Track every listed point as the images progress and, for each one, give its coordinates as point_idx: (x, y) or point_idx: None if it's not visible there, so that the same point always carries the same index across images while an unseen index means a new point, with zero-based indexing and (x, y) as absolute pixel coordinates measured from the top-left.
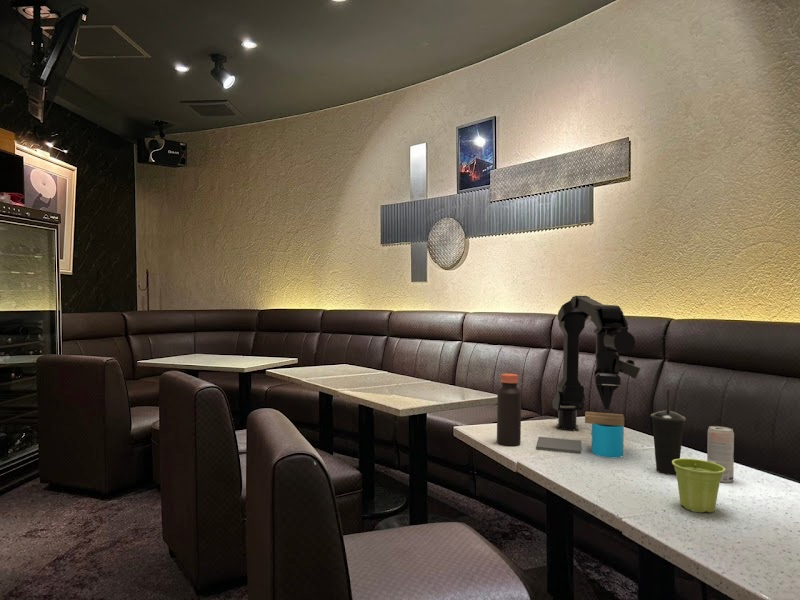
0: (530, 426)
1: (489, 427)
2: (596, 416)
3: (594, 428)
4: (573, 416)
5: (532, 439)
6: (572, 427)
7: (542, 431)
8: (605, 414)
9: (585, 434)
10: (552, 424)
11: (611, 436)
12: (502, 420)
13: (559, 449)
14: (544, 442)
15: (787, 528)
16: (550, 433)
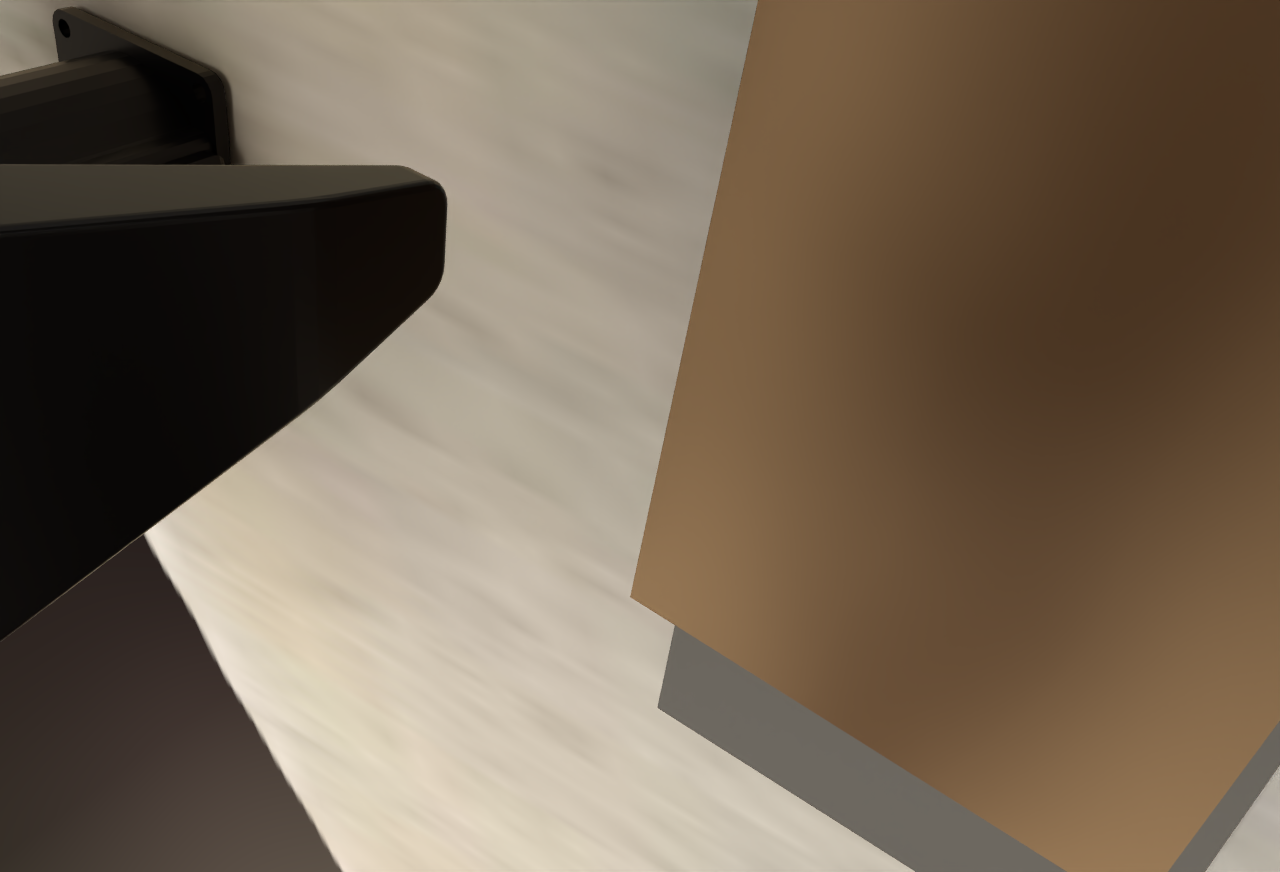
0: (238, 501)
1: (381, 841)
2: (1221, 707)
3: None
4: (55, 155)
5: (686, 745)
6: (197, 139)
7: (365, 481)
8: (908, 301)
9: (335, 27)
10: None
11: None
12: None
13: (1245, 813)
14: (905, 796)
15: None
16: (413, 439)
